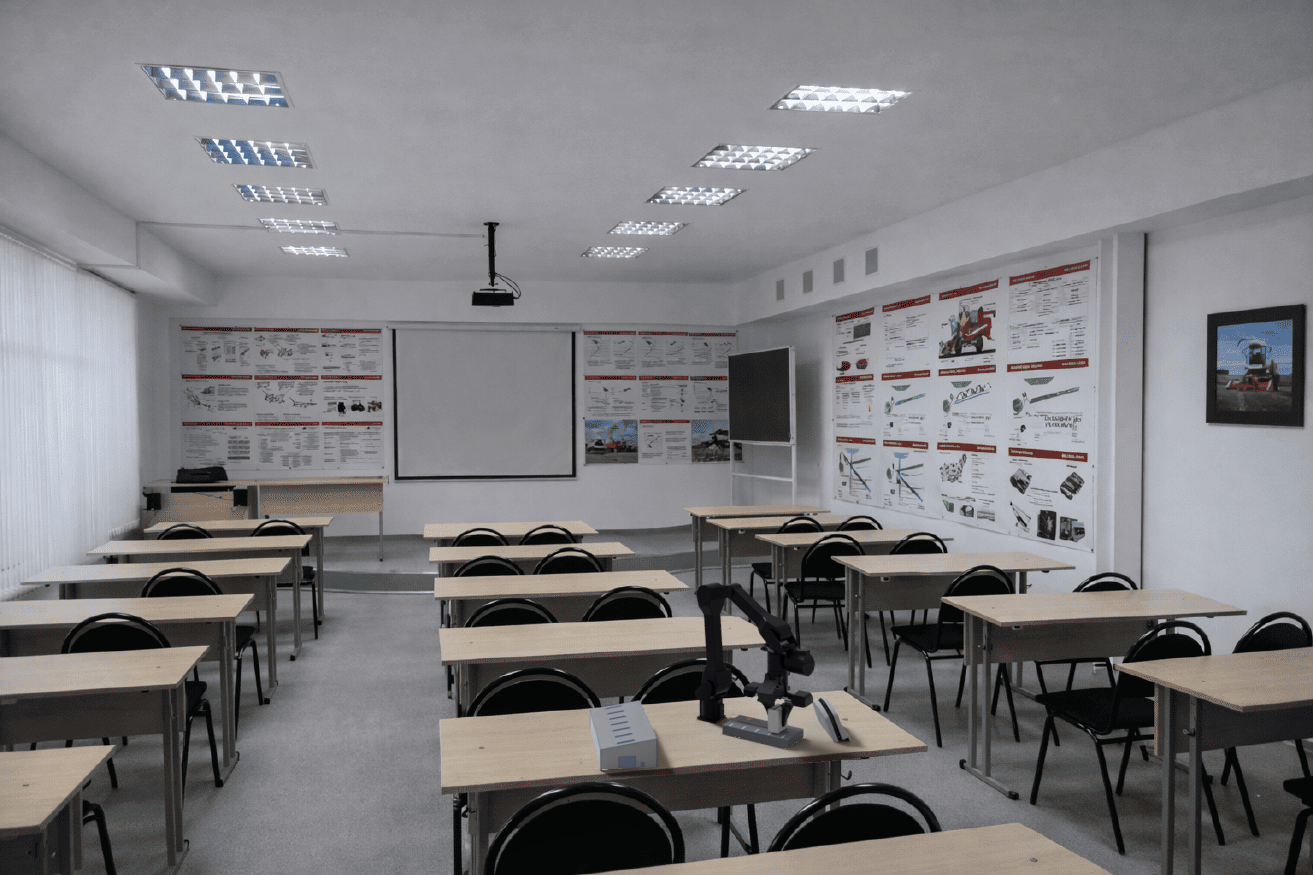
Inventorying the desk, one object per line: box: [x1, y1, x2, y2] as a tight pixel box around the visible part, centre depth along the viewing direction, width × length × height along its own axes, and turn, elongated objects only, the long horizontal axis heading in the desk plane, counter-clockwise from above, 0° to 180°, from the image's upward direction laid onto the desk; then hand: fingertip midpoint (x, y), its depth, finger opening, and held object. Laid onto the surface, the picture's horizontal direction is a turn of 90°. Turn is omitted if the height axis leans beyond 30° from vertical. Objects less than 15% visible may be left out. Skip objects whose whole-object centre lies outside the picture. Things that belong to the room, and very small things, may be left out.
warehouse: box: [589, 700, 658, 771], centre depth 224 cm, size 30×14×8 cm, turn 10°
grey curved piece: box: [811, 696, 853, 743], centre depth 235 cm, size 17×5×10 cm, turn 4°
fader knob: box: [767, 703, 789, 734], centre depth 229 cm, size 3×6×6 cm, turn 145°
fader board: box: [721, 714, 805, 750], centre depth 231 cm, size 20×10×3 cm, turn 55°
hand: (777, 725), depth 229 cm, fingers closed on fader knob, 3 cm apart
